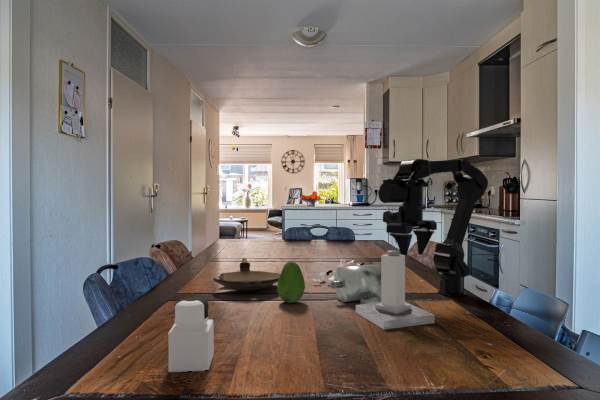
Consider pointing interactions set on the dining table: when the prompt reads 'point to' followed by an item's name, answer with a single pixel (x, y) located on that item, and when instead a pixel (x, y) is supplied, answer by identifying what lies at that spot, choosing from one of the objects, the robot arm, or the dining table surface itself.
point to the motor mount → (373, 297)
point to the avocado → (291, 283)
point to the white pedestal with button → (393, 283)
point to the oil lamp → (247, 278)
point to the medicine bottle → (191, 336)
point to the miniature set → (332, 273)
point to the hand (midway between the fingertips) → (412, 256)
